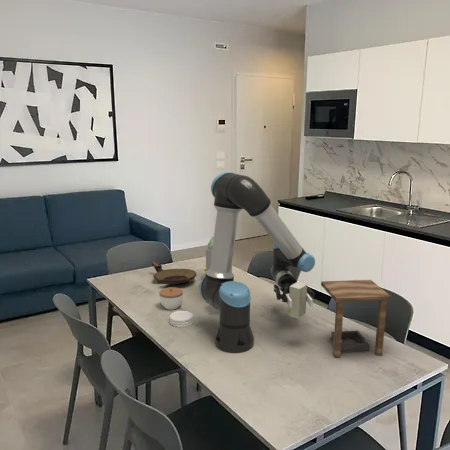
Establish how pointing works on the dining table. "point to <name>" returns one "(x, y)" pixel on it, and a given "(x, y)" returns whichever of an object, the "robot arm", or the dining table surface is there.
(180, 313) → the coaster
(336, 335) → the awning stand
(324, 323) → the dining table surface
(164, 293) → the lidded jar
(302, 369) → the dining table surface
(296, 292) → the skincare box
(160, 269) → the brown frying pan
